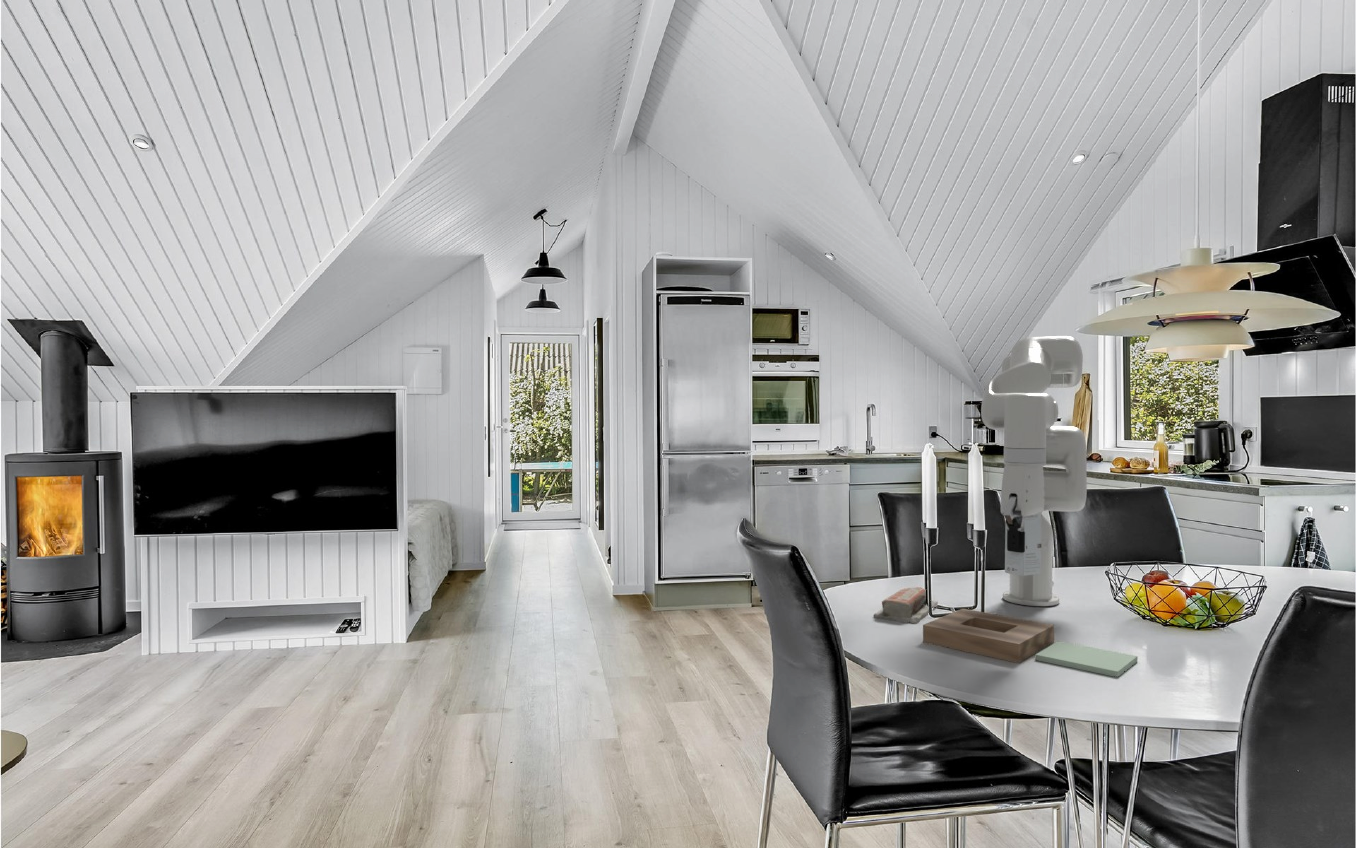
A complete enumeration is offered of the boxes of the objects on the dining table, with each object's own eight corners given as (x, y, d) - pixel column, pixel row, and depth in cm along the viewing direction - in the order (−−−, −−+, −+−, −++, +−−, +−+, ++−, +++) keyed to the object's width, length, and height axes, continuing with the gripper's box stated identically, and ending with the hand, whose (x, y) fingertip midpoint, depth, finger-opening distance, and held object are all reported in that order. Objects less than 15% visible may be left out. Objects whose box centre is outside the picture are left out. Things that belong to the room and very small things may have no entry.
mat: (1058, 646, 159) (1058, 641, 159) (1137, 661, 150) (1137, 656, 150) (1035, 659, 151) (1035, 654, 151) (1117, 677, 141) (1117, 671, 141)
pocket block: (962, 624, 175) (962, 608, 175) (1054, 642, 162) (1054, 625, 162) (922, 642, 162) (923, 624, 162) (1018, 663, 149) (1019, 644, 149)
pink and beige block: (918, 603, 176) (873, 598, 181) (918, 626, 176) (873, 620, 181) (938, 587, 191) (896, 583, 196) (938, 608, 191) (896, 603, 197)
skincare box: (1024, 576, 154) (1025, 513, 154) (1002, 572, 157) (1004, 510, 157) (1042, 573, 157) (1043, 511, 157) (1021, 570, 161) (1022, 509, 161)
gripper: (1023, 454, 166) (1023, 541, 166) (985, 458, 153) (985, 552, 154) (1061, 456, 160) (1060, 546, 161) (1025, 460, 148) (1024, 558, 149)
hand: (1023, 548), depth 157 cm, fingers closed on skincare box, 6 cm apart
